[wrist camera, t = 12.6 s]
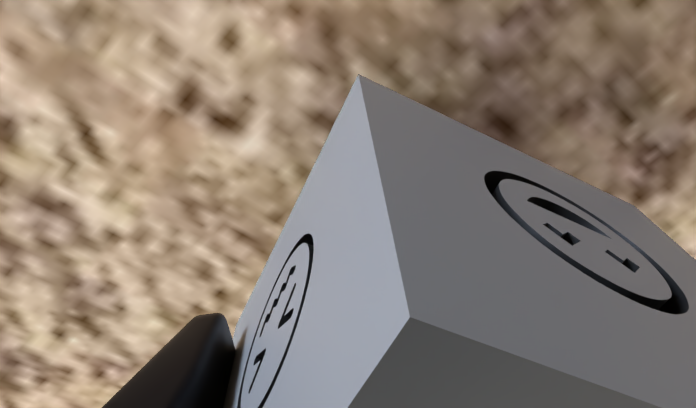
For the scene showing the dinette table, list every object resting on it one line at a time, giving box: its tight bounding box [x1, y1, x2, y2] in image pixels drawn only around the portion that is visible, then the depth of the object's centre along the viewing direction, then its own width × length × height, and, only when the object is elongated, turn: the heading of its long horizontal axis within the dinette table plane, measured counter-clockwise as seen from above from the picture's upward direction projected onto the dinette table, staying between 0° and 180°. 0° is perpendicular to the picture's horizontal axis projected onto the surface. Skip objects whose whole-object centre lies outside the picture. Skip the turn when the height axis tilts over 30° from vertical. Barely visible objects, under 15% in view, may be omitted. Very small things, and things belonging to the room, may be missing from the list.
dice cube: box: [223, 74, 696, 408], centre depth 6 cm, size 5×5×5 cm
